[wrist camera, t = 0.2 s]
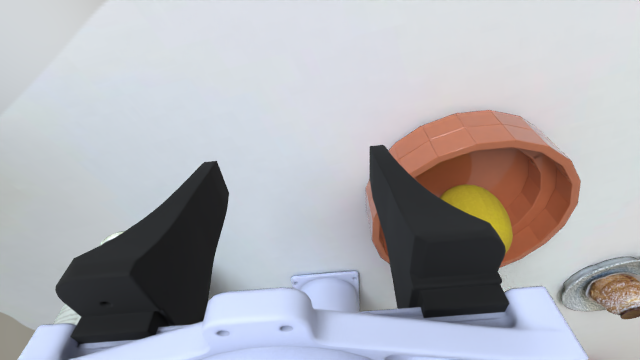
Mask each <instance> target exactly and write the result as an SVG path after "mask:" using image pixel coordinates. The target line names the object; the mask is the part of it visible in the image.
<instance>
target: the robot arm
mask: <svg viewBox="0 0 640 360" xmlns="http://www.w3.org/2000/svg"><path fill="white" fill-rule="evenodd" d="M370 185H371V191H372V197H373V201H374V204H375V207H376V211H377V214H378V217H379V221H380V224H381V227H382V230H383V234H384V237H385V241H386V245H387V251H388V256H389V261H390V267H391V272H392V278H393V284H394V290H395V296H396V302H397V308H398V309H389V310H375V311H362V312H359V311H360V309H359V277H358V272H357V271H348V272H335V273H323V274H311V275H298V276H293V277H291V282H292V286H293V288H286V287H280V288H268V289H255V290H243V291H230V292H224V293H220V294H216V295H215V296H213V297H212V298H211V299H210V300H209V301H208V297H209V289H210V281H211V274H212V268H213V261H214V256H215V252H216V248H217V244H218V241H219V237H220V234H221V230H222V227H223V223H224V219H225V216H226V212H227V205H228V197H229V192H228V189H227V187H226V184H225V181H224V179H223V176H222V174H221V171H220V168H219V166H218V163H217V161H212V162H204V163H203V164H202V165H201V166H200V167H199V168H198V169H197V170H196V171H195V172H194V173H193V174H192V175H191V176H190V177H189V178H188V179H187V180H186V181H185V182H184V183H183V184H182V185H181V186H180V187H179V189H178V190H176V191H175V192H174V193H173V194H172V195H171V196H170V197H169V198H168V199H167V200H166V201H165V202H164V203H163V204H161V205H160V206H159V207H158V208H157V209H155V210H154V211H153V212H152V213H150V214H149V215H148V216H147V217H145V218H144V219H143V220H141V221H140V222H138V223H137V224H135V225H134V226H132V227H131V228H129V229H128V230H126V231H125V232H123V233H122V234H120V235H118V236H117V237H115V238H113V239H111V240H110V241H108V242H106V243H104V244H102V245H101V246H99V247H97V248H95V249H93V250H91V251H89V252H86V253H84V254H82V255H80V256H78V257H76V258H74V259H73V261H72V262H71V264H70V265H69V267H68V268H67V270H66V271H65V273H64V274H63V276H62V278H61V279H60V281H59V282H58V284H57V285H56V293H57V295H58V297H59V298H60V299H61V300H62V301H63V302H64V303H65V304H66V305H67V306H69V307H70V308H71V309H72V310H73V311H75V312H76V313H77V314H78V315H79V316H81V318H80V320H79V322H78V324H77V325H75V324H71V323H60V324H47V325H40V326H39V327H38V328H37V330H36V331H35V333H34V335H33V336H32V338H31V339H30V341H29V343H28V344H27V346H26V347H25V349H24V351H23V352H22V354H21V355H20V357H19V358H18V360H588V358H589V357H588V356H587V354H586V352H585V351H584V349H583V348H582V346H581V344H580V343H579V341H578V339H577V338H576V336H575V335H574V333H573V331H572V330H571V328H570V327H569V325H568V323H567V322H566V320H565V318H564V317H563V315H562V314H561V312H560V310H559V309H558V307H557V306H556V304H555V302H554V301H553V299H552V297H551V296H550V294H549V293H548V291H547V289H546V288H545V287H543V286H536V287H523V288H513V289H509V290H507V291H506V292H505V293H504V291H503V289H502V287H501V285H500V284H501V283H502V279H501V277H500V275H499V273H498V270H499V267H500V265H501V263H502V261H503V259H504V256H505V252H506V248H505V245H504V243H503V241H502V240H501V238H500V236H499V235H498V233H497V232H496V230H495V229H494V228H493V227H492V225H491V224H490V223H489V222H487V221H485V220H482V219H480V218H477V217H475V216H472V215H470V214H468V213H466V212H464V211H462V210H460V209H458V208H456V207H454V206H452V205H450V204H449V203H447V202H445V201H444V200H442V199H440V198H439V197H437V196H436V195H434V194H433V193H431V192H430V191H429V190H427V189H426V188H425V187H423V186H422V185H421V184H420V183H419V182H417V181H416V180H415V179H414V178H413V177H412V176H411V175H410V174H409V173H408V172H407V171H406V170H405V169H404V168H403V167H402V166H401V165H400V164H399V163H398V162H397V161H396V160H395V158H394V157H393V156H392V155H391V154H390V152H389V151H388V150H387V149H386V147H385V146H384V145H378V146H370Z"/></svg>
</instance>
